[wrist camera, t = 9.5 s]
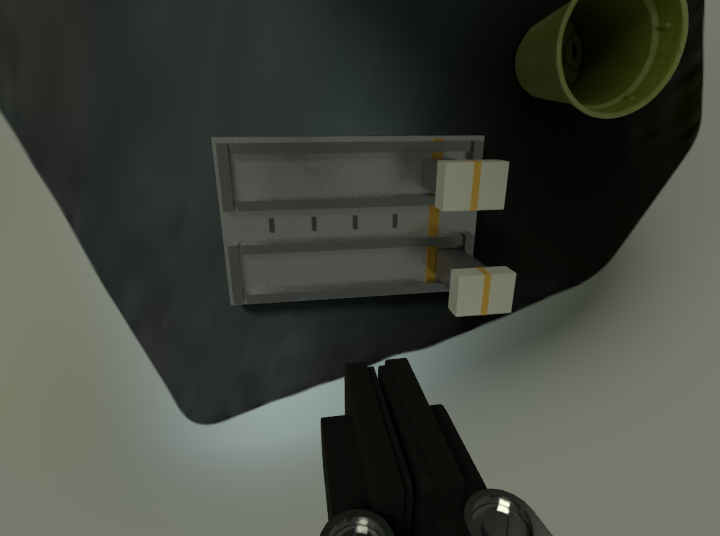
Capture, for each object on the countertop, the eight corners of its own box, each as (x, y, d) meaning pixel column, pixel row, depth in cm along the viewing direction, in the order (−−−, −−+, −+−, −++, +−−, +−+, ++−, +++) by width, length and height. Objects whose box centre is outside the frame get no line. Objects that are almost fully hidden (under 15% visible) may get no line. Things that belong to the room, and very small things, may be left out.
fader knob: (426, 246, 36) (459, 276, 29) (473, 244, 37) (516, 273, 30) (424, 280, 37) (455, 317, 30) (470, 277, 38) (510, 312, 31)
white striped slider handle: (413, 153, 33) (446, 162, 26) (464, 153, 34) (509, 161, 27) (411, 193, 35) (442, 211, 27) (460, 192, 35) (503, 209, 28)
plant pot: (602, 99, 37) (689, 92, 29) (506, 133, 36) (567, 137, 28) (591, -19, 33) (687, -64, 25) (485, 18, 33) (548, -16, 25)
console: (215, 136, 33) (209, 137, 30) (474, 135, 36) (488, 135, 33) (233, 296, 37) (229, 309, 35) (461, 282, 41) (472, 293, 38)
